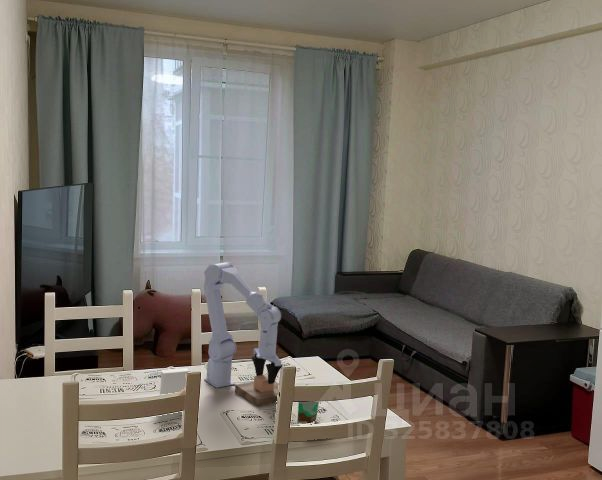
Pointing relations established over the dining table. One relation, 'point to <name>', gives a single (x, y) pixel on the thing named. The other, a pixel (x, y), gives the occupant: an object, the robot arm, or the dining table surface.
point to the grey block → (173, 380)
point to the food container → (307, 411)
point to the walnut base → (257, 394)
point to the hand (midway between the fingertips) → (265, 379)
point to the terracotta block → (262, 383)
